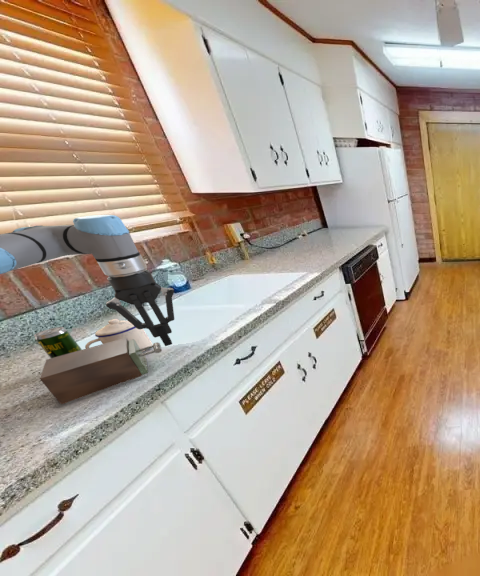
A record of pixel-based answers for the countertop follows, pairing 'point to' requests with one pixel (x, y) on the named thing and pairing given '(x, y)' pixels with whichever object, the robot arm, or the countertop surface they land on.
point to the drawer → (141, 354)
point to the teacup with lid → (121, 333)
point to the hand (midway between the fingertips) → (168, 343)
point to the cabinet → (89, 370)
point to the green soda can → (57, 342)
